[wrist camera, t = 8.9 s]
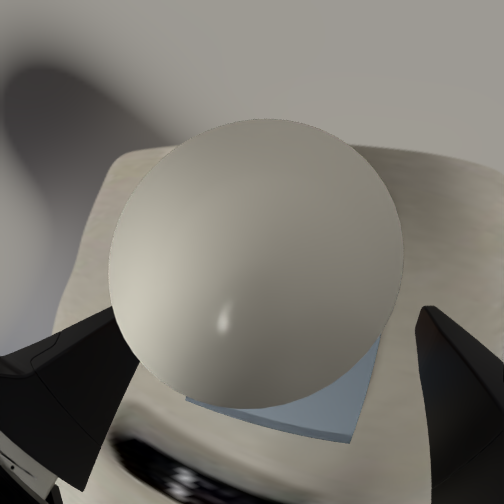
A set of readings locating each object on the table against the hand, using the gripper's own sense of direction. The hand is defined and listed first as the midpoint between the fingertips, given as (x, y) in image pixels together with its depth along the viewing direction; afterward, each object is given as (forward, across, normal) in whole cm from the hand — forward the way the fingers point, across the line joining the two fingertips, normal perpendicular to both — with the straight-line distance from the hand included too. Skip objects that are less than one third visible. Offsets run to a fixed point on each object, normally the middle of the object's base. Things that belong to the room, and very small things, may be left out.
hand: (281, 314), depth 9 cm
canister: (+7, 0, +6) cm, 9 cm away
